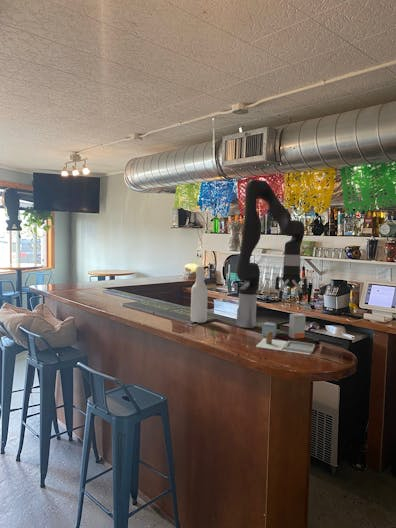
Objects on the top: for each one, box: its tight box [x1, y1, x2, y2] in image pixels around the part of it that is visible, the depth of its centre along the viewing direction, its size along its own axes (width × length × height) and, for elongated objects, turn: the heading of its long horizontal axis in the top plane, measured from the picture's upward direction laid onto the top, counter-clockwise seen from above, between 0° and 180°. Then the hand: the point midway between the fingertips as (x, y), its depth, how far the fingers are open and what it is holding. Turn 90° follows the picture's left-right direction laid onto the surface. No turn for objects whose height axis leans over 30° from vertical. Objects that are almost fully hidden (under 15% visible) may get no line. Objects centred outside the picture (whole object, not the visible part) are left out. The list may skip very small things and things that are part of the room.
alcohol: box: [190, 265, 209, 324], centre depth 214 cm, size 9×9×30 cm
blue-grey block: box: [261, 321, 278, 339], centre depth 184 cm, size 6×6×7 cm
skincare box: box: [288, 313, 307, 339], centre depth 183 cm, size 6×4×12 cm
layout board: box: [255, 331, 316, 356], centre depth 168 cm, size 23×15×6 cm, turn 67°
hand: (290, 299), depth 181 cm, fingers open, 8 cm apart
